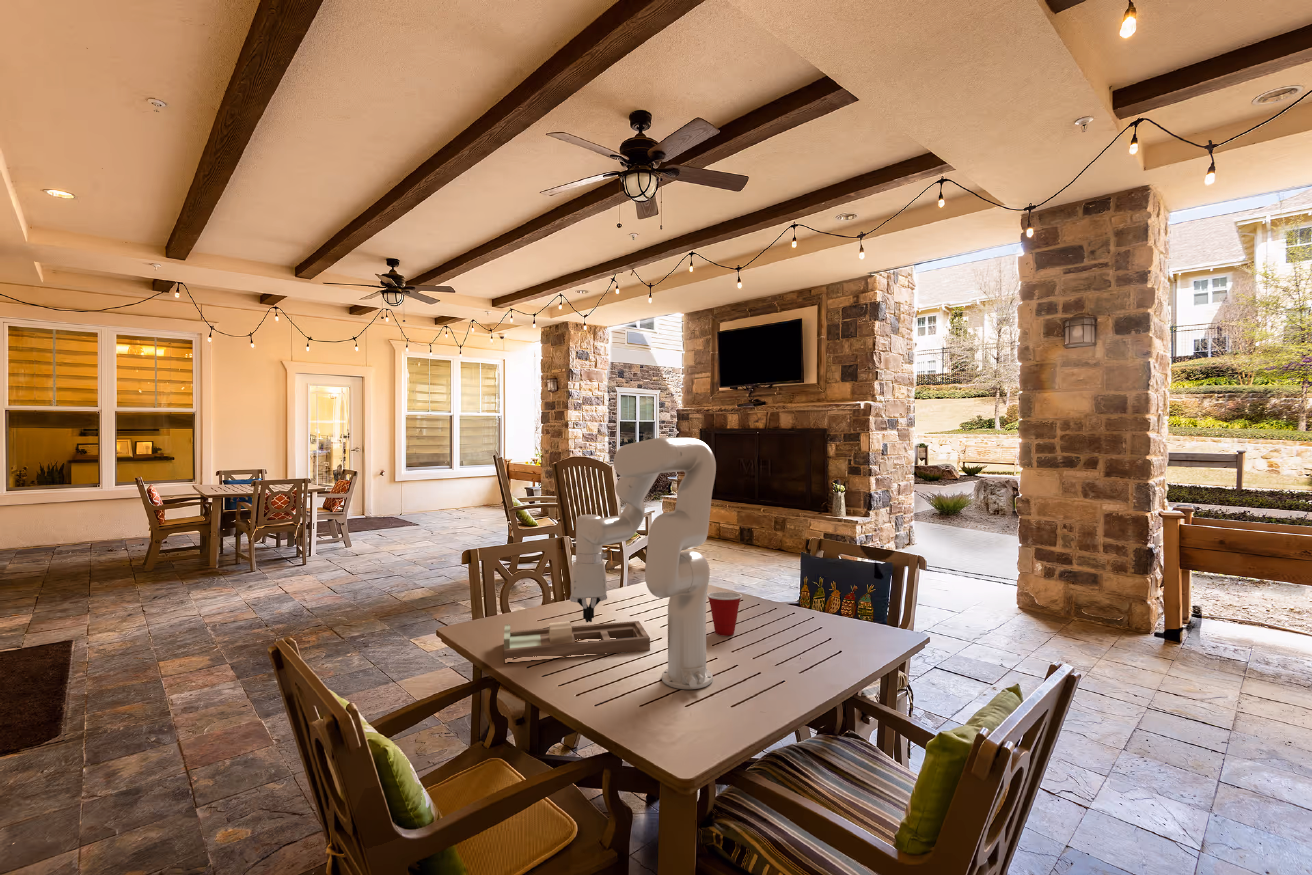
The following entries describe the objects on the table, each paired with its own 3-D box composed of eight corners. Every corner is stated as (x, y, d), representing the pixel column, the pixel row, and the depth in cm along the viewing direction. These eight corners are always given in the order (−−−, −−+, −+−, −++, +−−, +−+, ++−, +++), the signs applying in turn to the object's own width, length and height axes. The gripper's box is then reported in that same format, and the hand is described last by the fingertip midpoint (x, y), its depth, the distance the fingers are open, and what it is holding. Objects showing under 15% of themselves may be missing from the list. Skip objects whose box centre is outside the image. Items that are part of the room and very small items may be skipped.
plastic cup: (741, 627, 186) (741, 589, 186) (743, 639, 176) (743, 598, 176) (707, 626, 188) (706, 588, 188) (706, 638, 177) (706, 597, 177)
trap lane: (650, 650, 167) (649, 628, 167) (503, 663, 158) (503, 641, 158) (638, 632, 183) (638, 612, 183) (505, 643, 173) (504, 623, 173)
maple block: (571, 642, 167) (571, 627, 167) (550, 643, 166) (550, 629, 166) (570, 635, 173) (569, 621, 173) (549, 636, 171) (549, 623, 171)
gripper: (612, 554, 177) (611, 615, 177) (562, 556, 173) (561, 618, 174) (616, 559, 169) (616, 623, 170) (564, 561, 166) (563, 626, 166)
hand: (588, 620), depth 172 cm, fingers closed
